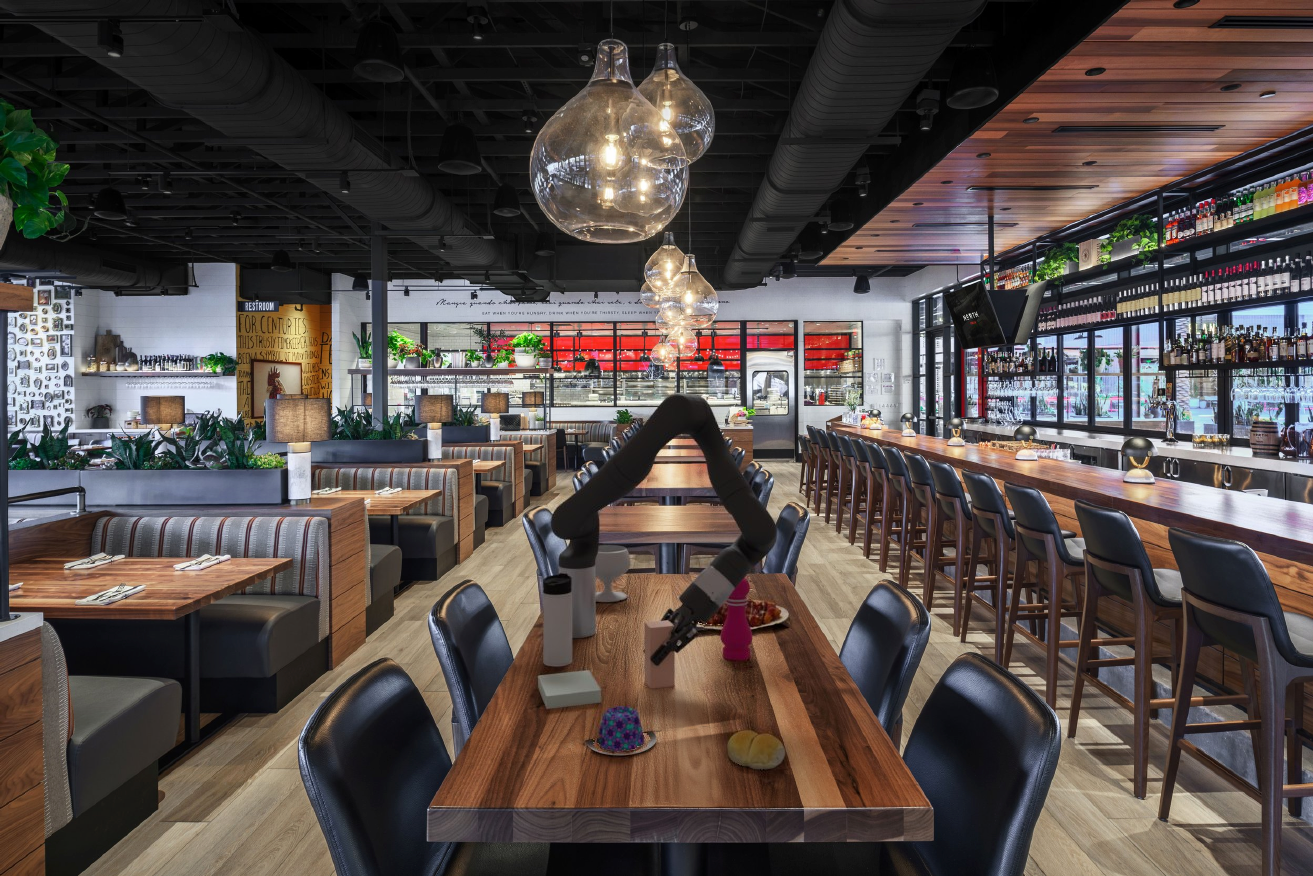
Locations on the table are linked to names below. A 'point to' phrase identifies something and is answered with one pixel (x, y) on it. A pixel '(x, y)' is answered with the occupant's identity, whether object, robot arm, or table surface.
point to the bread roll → (755, 750)
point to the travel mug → (557, 620)
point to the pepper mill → (737, 625)
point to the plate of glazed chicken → (752, 615)
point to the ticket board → (569, 689)
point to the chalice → (611, 570)
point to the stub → (653, 641)
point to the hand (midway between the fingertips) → (650, 658)
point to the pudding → (621, 731)
